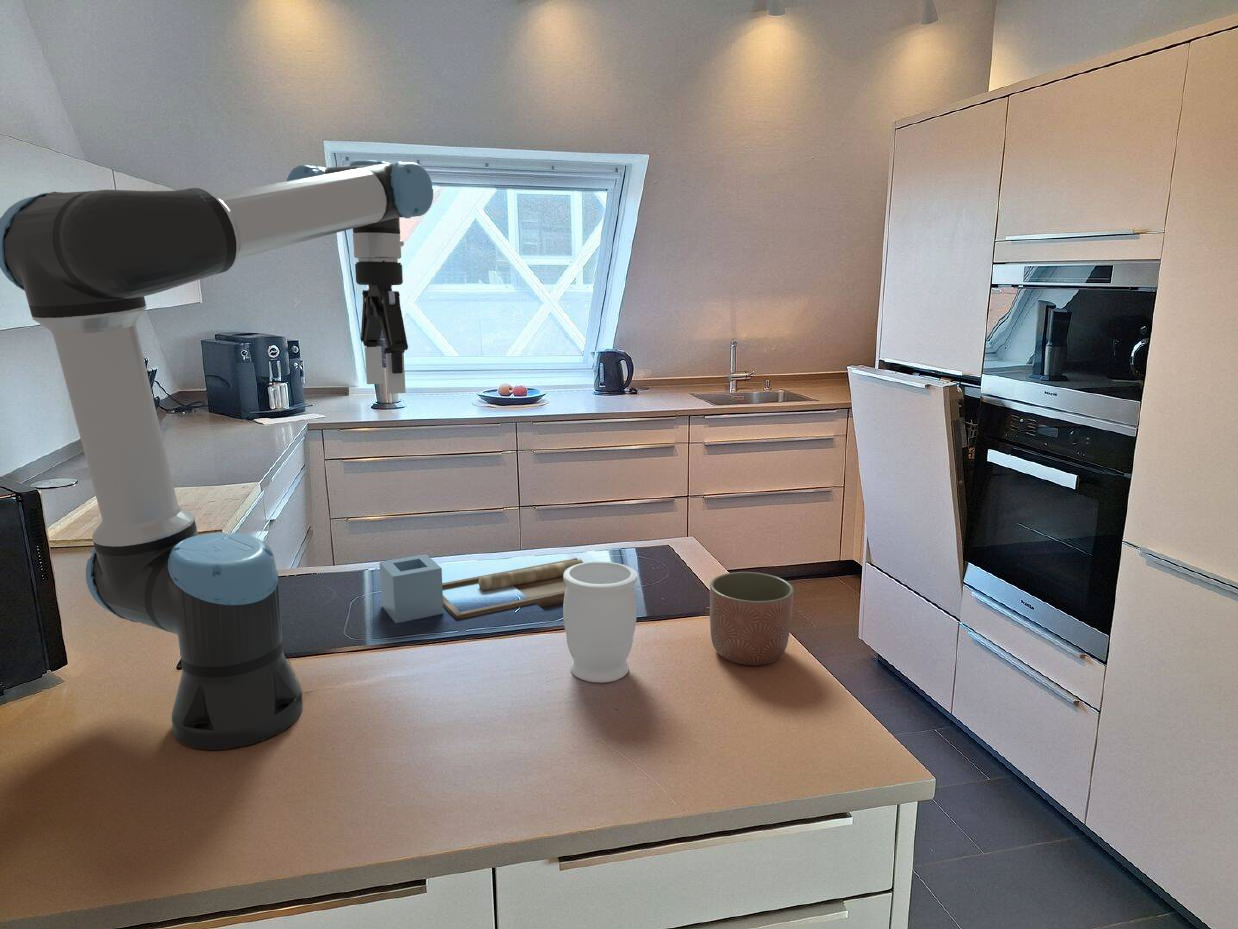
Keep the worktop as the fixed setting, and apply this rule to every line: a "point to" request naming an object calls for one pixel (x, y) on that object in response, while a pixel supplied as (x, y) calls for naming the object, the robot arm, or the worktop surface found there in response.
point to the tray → (536, 591)
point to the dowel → (525, 575)
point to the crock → (411, 588)
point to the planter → (750, 616)
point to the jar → (599, 619)
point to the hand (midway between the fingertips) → (385, 388)
